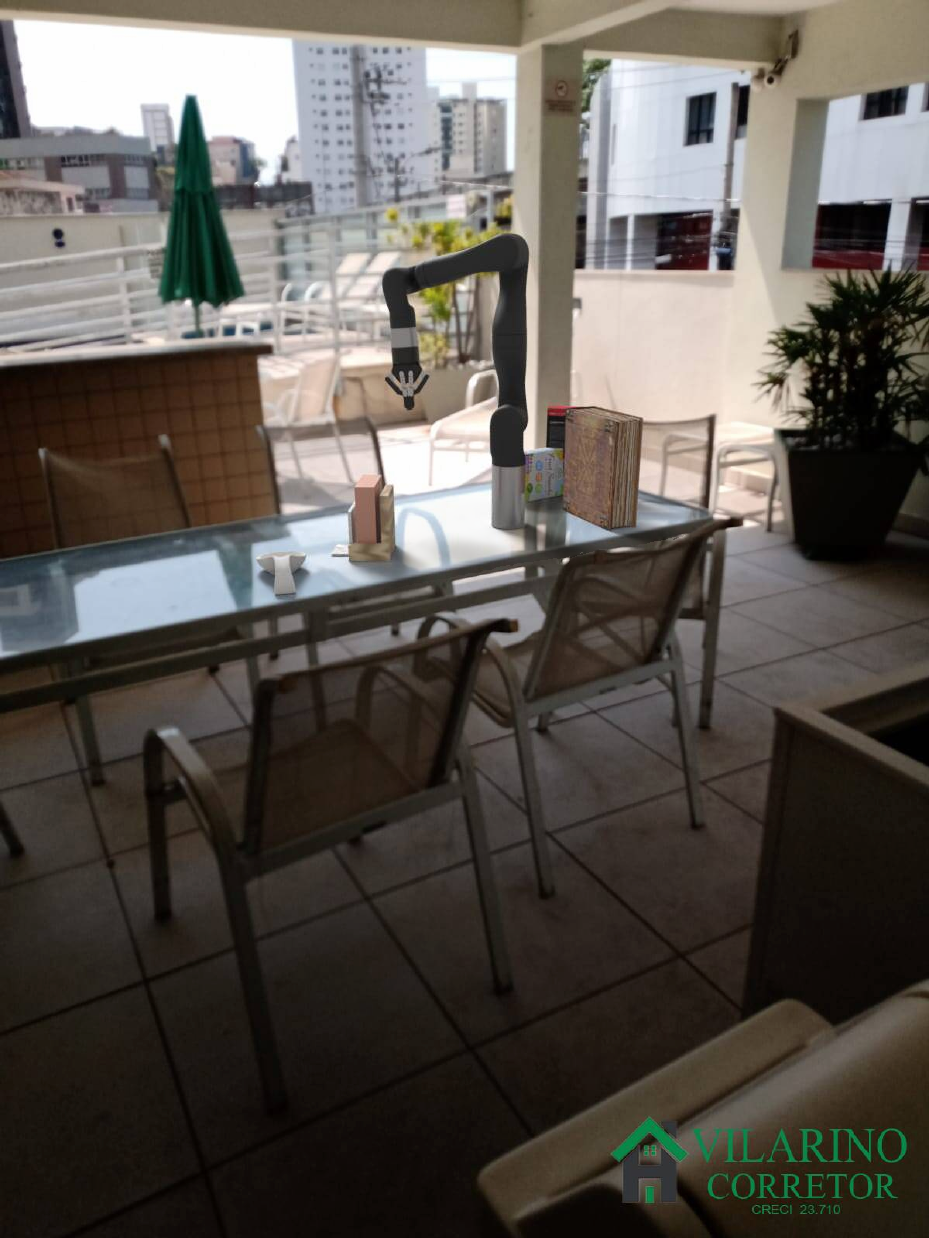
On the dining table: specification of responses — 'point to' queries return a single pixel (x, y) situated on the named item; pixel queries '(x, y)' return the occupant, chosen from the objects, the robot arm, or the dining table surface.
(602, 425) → the book
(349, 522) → the bookend
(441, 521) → the dining table surface
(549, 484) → the snack box
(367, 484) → the book
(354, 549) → the board
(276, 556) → the spoon rest
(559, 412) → the graphics card box
